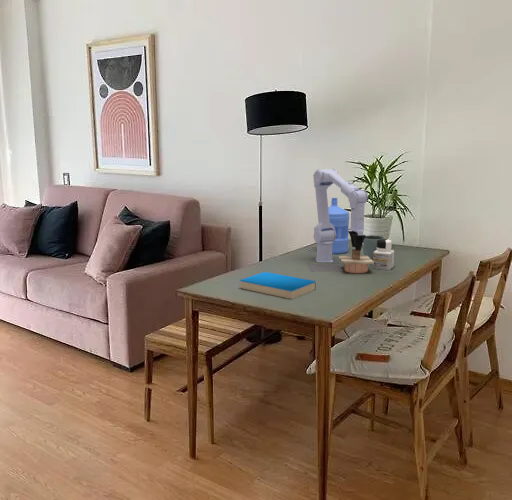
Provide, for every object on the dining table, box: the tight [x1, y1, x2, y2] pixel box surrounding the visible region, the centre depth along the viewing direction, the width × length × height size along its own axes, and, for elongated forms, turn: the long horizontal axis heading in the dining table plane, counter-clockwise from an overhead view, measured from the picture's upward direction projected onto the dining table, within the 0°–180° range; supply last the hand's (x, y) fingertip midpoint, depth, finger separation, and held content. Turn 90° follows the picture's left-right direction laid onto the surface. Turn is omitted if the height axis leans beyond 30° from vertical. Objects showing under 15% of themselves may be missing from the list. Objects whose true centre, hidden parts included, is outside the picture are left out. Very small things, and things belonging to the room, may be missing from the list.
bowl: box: [343, 264, 369, 274], centre depth 236 cm, size 10×10×5 cm
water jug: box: [322, 197, 350, 255], centre depth 277 cm, size 16×16×28 cm
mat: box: [306, 262, 345, 273], centre depth 242 cm, size 15×15×1 cm
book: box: [239, 271, 317, 300], centre depth 211 cm, size 17×4×25 cm
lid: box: [338, 248, 374, 265], centre depth 235 cm, size 13×13×5 cm
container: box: [372, 238, 395, 271], centre depth 243 cm, size 8×8×13 cm
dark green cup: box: [362, 234, 386, 261], centre depth 254 cm, size 10×10×12 cm
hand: (356, 248), depth 235 cm, fingers open, 7 cm apart
